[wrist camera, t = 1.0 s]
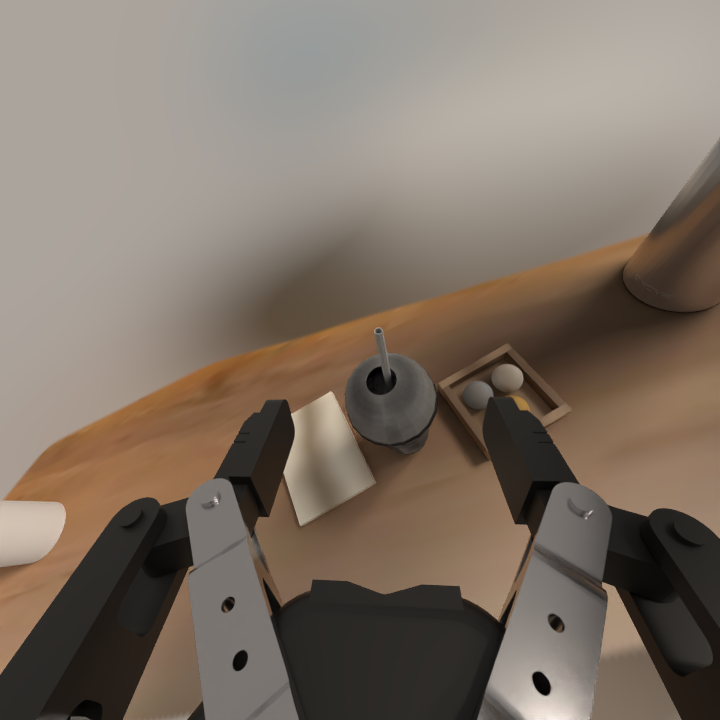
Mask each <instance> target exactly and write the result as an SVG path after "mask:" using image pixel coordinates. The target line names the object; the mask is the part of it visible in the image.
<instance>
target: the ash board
mask: <svg viewBox="0 0 720 720" xmlns="http://www.w3.org/2000/svg"><path fill="white" fill-rule="evenodd" d="M291 416H292V419H293V423H294V427H295V437H294V442H293V445H292V448H291V451H290V454H289V457H288V460H287V463H286V466H285V469H284V472H283V473H284V476H285V479H286V482H287V486H288V489H289V492H290V495H291V498H292V501H293V505H294V508H295V511H296V514H297V517H298V521H299V524H300V526H303V525H306V524H307V523H309V522H311V521H313V520H314V519H316V518H318V517H319V516H321V515H323V514H325V513H326V512H328V511H330V510H332V509H333V508H335V507H337V506H338V505H340V504H342V503H344V502H345V501H347V500H349V499H351V498H352V497H354V496H356V495H357V494H359V493H361V492H363V491H364V490H366V489H368V488H369V487H371V486H373V485H375V484H376V481H375V479H374V477H373V475H372V472H371V470H370V468H369V466H368V464H367V462H366V460H365V458H364V456H363V454H362V452H361V450H360V447H359V445H358V443H357V441H356V439H355V437H354V435H353V433H352V431H351V429H350V427H349V425H348V422H347V420H346V418H345V416H344V414H343V412H342V410H341V408H340V406H339V404H338V402H337V400H336V397H335V395H334V394H333V393H332V391H331V392H329V393H327V394H326V395H324V396H322V397H320V398H319V399H317V400H315V401H313V402H312V403H310V404H308V405H306V406H305V407H303V408H301V409H299V410H298V411H296V412H294V413H293V414H291Z"/></svg>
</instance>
